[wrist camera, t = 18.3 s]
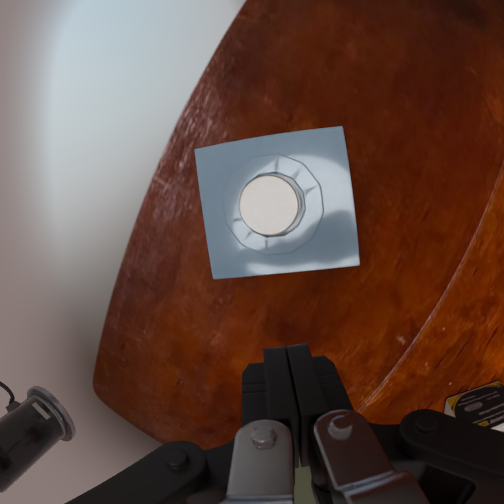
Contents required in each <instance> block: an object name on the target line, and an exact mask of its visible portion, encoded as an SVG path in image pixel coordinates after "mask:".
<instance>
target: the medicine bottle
mask: <svg viewBox="0 0 504 504" xmlns="http://www.w3.org/2000/svg"><path fill="white" fill-rule="evenodd" d="M444 414H447V415H450V416H453V417H456V418H459V419H462V420H465V421H468V422H471V423H475V424H478V425H481V426H484V427H488V428H491V429H495V430H498V431H502V432H504V386H503V385H502V383H501V382H500V381H496V382H493V383H491V384H488V385H485V386H482V387H480V388H477V389H474V390H471V391H468V392H465V393H462V394H459V395H456V396H452V397H449V398H447V399H446V404H445V411H444Z"/></svg>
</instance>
